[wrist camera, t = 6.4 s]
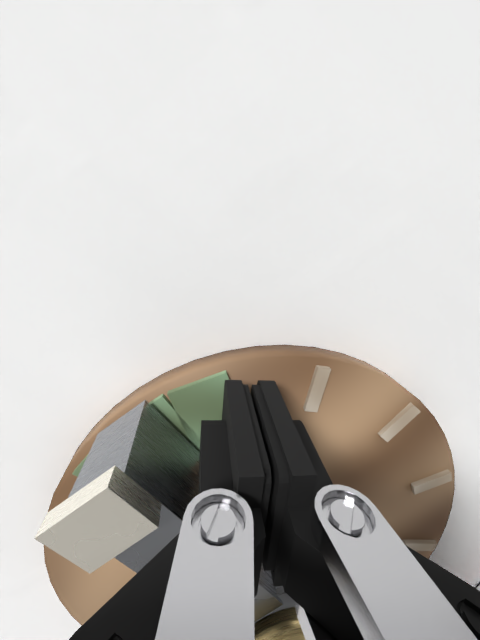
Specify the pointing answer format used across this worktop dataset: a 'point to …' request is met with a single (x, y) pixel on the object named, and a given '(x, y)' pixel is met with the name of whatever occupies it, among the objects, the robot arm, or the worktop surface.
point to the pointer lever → (144, 509)
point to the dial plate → (324, 430)
